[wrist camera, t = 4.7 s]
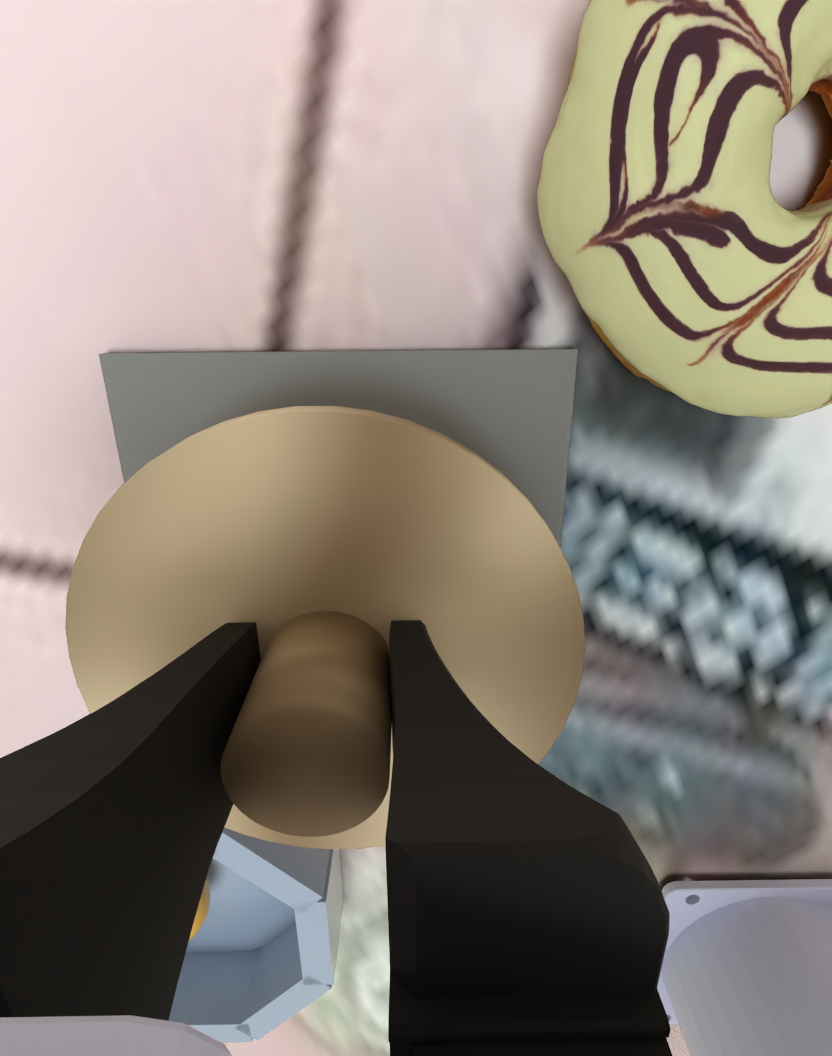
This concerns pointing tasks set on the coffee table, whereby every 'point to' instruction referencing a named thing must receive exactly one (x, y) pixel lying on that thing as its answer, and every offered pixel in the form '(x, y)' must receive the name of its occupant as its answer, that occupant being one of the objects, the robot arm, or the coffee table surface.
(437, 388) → the mat
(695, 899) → the robot arm
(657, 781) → the coffee table surface
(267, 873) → the bowl
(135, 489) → the lid
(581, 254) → the decorated donut
